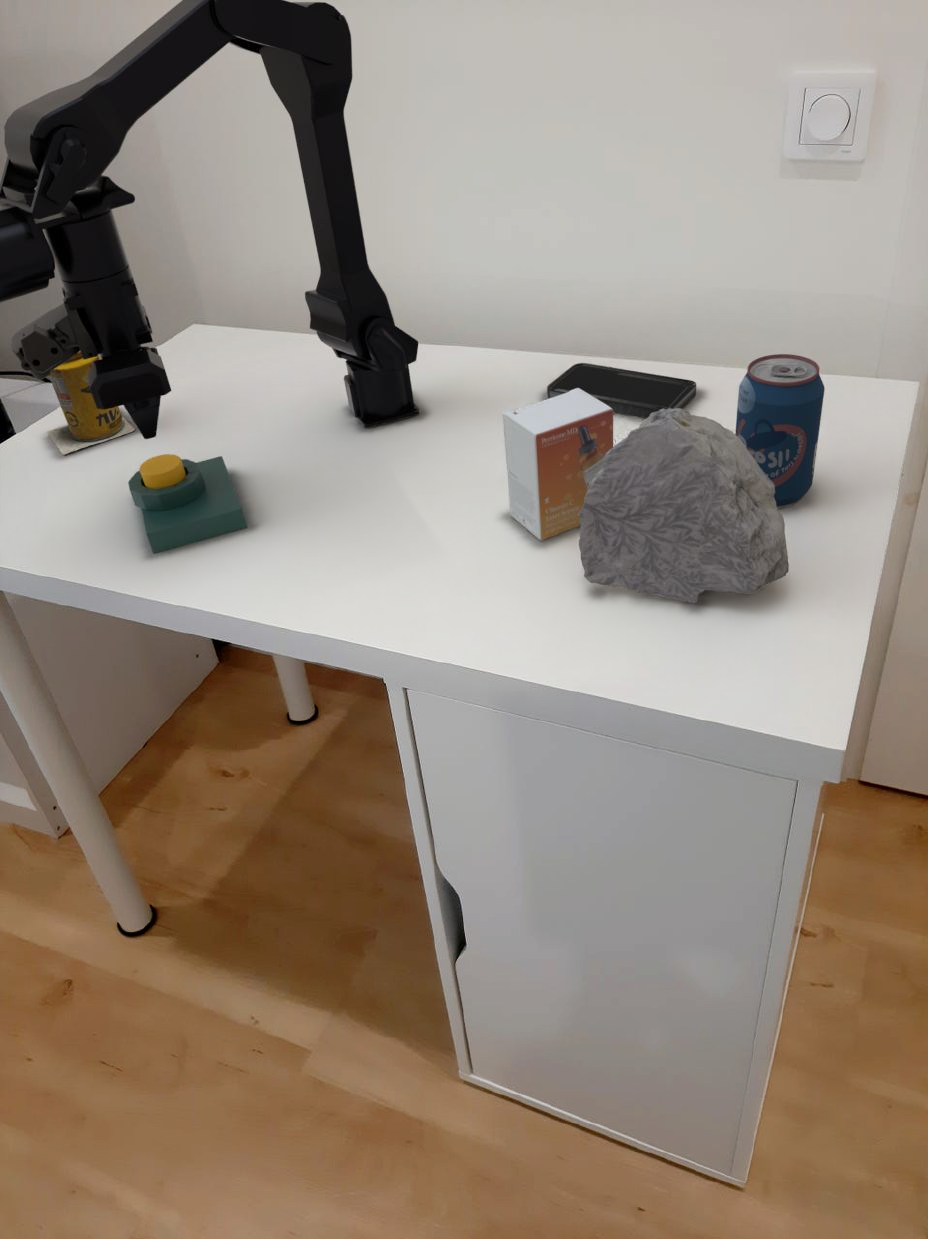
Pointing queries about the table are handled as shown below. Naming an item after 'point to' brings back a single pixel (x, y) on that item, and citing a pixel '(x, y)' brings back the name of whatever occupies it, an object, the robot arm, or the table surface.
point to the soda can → (782, 421)
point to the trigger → (162, 471)
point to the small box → (555, 458)
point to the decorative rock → (682, 513)
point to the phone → (625, 388)
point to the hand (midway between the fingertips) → (150, 436)
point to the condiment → (82, 409)
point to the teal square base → (189, 506)
